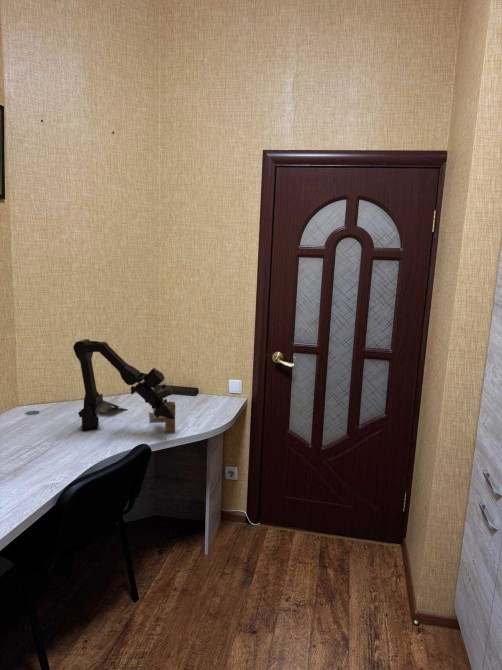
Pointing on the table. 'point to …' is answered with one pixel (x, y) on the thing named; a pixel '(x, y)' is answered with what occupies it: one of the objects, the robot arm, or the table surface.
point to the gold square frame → (155, 419)
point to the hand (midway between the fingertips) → (173, 417)
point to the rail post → (169, 422)
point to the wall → (107, 406)
